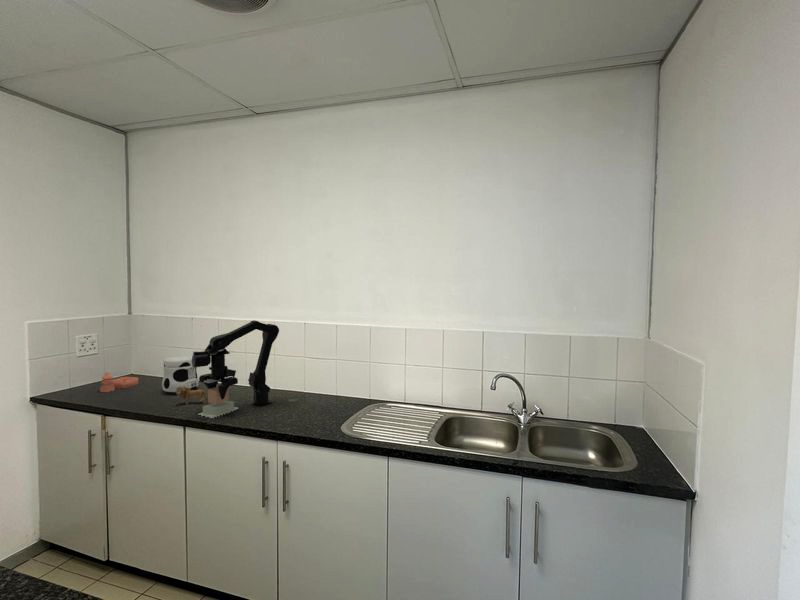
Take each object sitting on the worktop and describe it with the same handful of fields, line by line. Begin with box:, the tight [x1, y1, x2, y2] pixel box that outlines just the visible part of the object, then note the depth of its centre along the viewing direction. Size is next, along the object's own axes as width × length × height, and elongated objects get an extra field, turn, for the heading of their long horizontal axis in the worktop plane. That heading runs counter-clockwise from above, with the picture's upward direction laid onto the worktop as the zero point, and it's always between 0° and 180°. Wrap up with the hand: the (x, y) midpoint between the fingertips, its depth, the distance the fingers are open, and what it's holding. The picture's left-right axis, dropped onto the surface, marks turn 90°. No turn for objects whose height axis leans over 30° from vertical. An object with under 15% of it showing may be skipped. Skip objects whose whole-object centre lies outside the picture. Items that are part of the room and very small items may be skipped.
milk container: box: [161, 355, 200, 394], centre depth 212 cm, size 17×17×18 cm
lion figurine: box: [175, 386, 208, 405], centre depth 191 cm, size 15×5×9 cm, turn 111°
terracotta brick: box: [207, 386, 230, 404], centre depth 179 cm, size 5×7×6 cm
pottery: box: [99, 372, 140, 393], centre depth 216 cm, size 18×10×10 cm, turn 167°
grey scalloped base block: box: [198, 400, 239, 419], centre depth 179 cm, size 9×14×4 cm, turn 155°
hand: (218, 398), depth 179 cm, fingers closed on terracotta brick, 5 cm apart
